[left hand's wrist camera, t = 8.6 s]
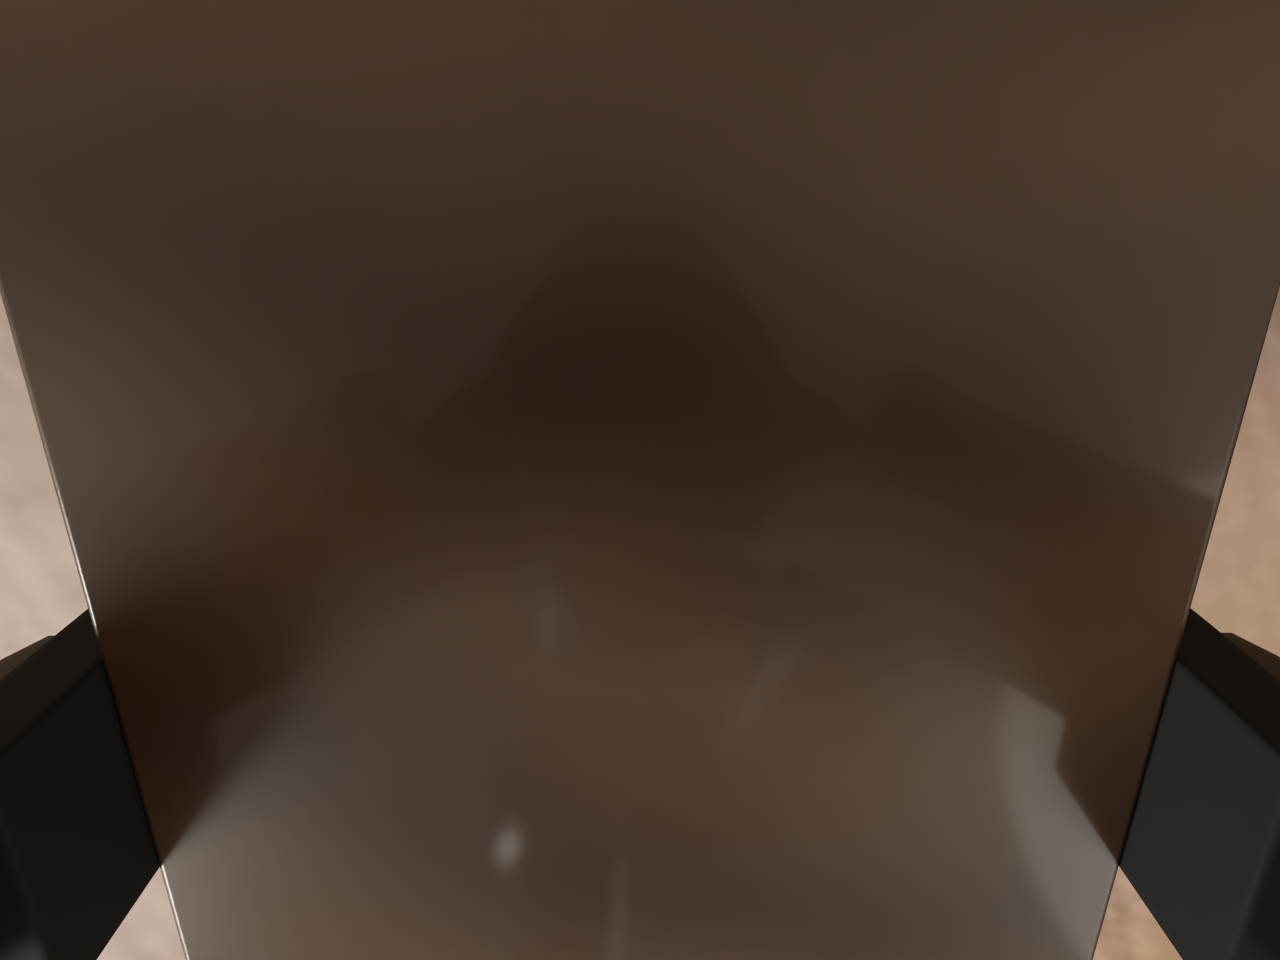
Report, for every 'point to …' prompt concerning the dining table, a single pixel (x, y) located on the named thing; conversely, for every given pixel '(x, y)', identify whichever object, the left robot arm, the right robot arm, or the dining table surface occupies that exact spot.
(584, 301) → the cabinet
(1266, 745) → the left robot arm
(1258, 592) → the dining table surface
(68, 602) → the dining table surface
